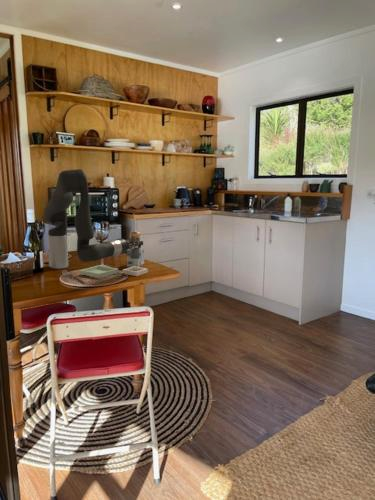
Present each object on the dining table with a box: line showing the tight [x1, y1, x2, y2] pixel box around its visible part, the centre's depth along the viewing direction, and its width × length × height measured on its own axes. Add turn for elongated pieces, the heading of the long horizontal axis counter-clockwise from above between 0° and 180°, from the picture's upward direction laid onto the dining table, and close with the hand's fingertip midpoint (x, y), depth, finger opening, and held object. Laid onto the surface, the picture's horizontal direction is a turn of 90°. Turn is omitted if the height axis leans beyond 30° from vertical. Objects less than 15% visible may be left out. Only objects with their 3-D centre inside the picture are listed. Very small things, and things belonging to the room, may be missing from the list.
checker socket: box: [122, 266, 149, 277], centre depth 190 cm, size 9×9×2 cm
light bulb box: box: [126, 244, 145, 268], centre depth 207 cm, size 11×7×11 cm, turn 168°
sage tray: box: [79, 264, 119, 280], centre depth 187 cm, size 13×13×2 cm
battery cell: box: [129, 230, 141, 259], centre depth 188 cm, size 5×5×14 cm
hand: (138, 242), depth 190 cm, fingers closed on battery cell, 4 cm apart
